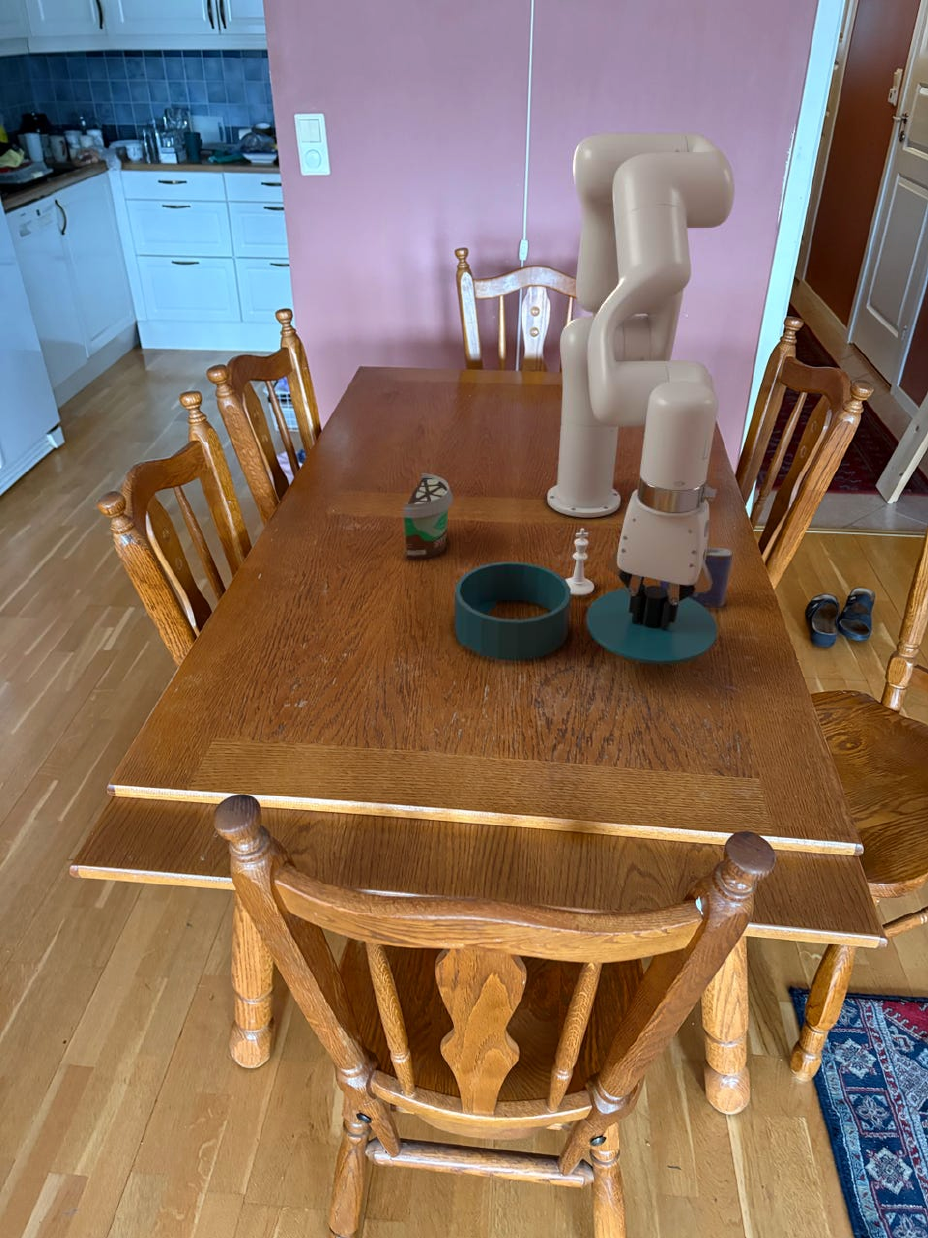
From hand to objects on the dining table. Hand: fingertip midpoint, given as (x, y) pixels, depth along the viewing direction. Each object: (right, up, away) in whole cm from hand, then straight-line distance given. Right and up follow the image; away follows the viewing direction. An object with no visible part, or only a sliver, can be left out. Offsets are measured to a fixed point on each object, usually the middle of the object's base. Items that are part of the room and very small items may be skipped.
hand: (651, 620), depth 116 cm
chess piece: (-7, +4, +19) cm, 20 cm away
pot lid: (0, -1, +1) cm, 1 cm away
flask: (+9, +2, +16) cm, 18 cm away
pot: (-17, -1, +10) cm, 20 cm away
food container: (-29, +11, +29) cm, 43 cm away
